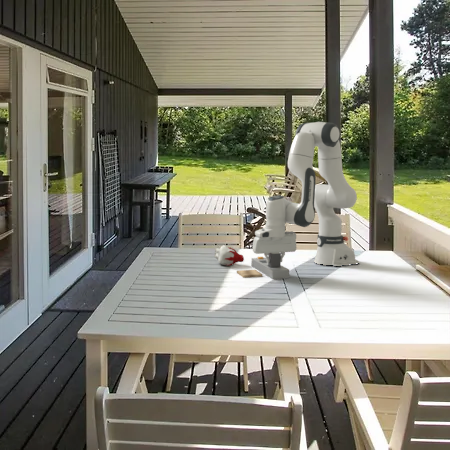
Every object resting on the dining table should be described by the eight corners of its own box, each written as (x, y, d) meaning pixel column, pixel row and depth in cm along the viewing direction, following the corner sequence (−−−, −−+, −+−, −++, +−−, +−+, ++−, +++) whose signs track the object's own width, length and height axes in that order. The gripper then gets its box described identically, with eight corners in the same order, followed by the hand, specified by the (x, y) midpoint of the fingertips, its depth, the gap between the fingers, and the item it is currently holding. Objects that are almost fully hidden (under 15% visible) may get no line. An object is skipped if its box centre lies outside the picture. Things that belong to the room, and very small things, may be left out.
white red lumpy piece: (213, 260, 269) (243, 265, 268) (210, 265, 258) (241, 270, 257) (216, 243, 268) (246, 247, 267) (213, 247, 257) (244, 252, 256)
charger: (276, 266, 248) (277, 250, 247) (280, 268, 244) (280, 252, 243) (268, 267, 247) (268, 251, 246) (271, 269, 243) (272, 253, 242)
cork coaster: (255, 271, 250) (255, 269, 250) (262, 276, 242) (262, 274, 241) (236, 272, 247) (236, 270, 247) (243, 277, 239) (243, 275, 239)
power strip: (262, 262, 270) (262, 253, 269) (289, 278, 240) (289, 268, 239) (247, 263, 267) (247, 254, 266) (272, 279, 237) (272, 269, 236)
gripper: (293, 230, 249) (292, 259, 251) (251, 231, 243) (251, 261, 245) (299, 232, 243) (298, 262, 245) (256, 234, 237) (256, 265, 239)
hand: (274, 262), depth 245 cm, fingers closed on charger, 4 cm apart
